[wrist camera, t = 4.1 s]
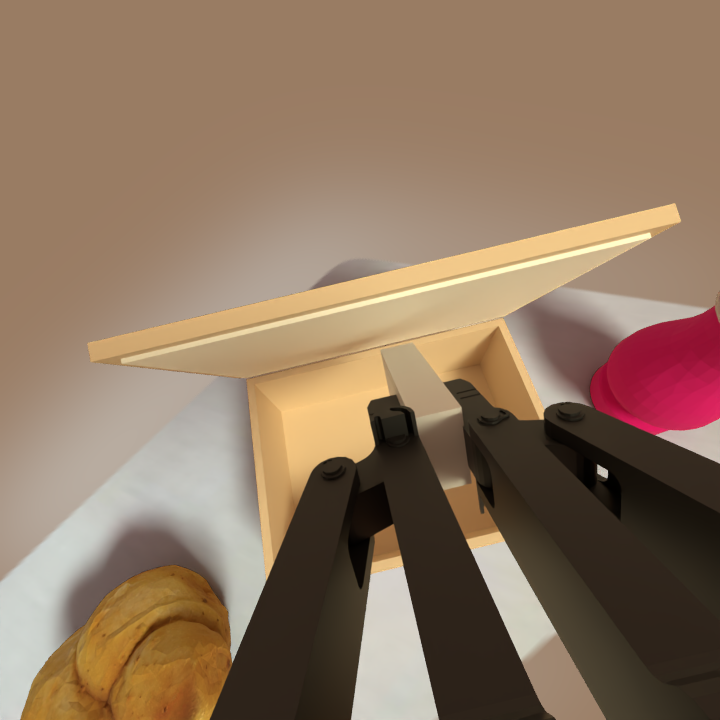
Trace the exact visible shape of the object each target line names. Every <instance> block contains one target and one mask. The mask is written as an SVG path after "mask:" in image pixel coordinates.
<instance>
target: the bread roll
mask: <svg viewBox="0 0 720 720" xmlns="http://www.w3.org/2000/svg"><path fill="white" fill-rule="evenodd" d="M230 646H231V636H230V626H229V622H228V611H227V610H226V608H225V607H224V606H223V605H222V604H221V602H220V600H219V599H218V598H217V596H216V595H215V594H214V593H213V591H212V589H211V587H210V586H209V584H208V582H207V580H206V579H204V578H203V577H202V576H200V575H199V574H197V573H196V572H193V571H191V570H189V569H187V568H183V567H180V566H177V565H169V566H163V567H158V568H155V569H152V570H147V571H145V572H142V573H140V574H138V575H136V576H133V577H132V578H130V579H128V580H127V581H125V582H123V583H122V584H121V585H119V586H118V587H116V588H115V589H114V590H112V591H111V592H110V593H109V594H107V595H106V596H105V597H104V599H103V600H102V601H101V602H100V604H99V605H98V606H97V608H96V609H95V611H94V612H93V614H92V615H91V617H90V618H89V620H88V621H87V623H86V625H84V626H83V627H81V628H80V629H78V630H77V631H76V632H75V633H74V634H73V635H72V636H70V637H69V638H68V639H67V640H66V641H65V642H64V643H63V644H62V645H61V646H60V647H59V648H58V649H57V650H56V651H55V652H54V653H53V654H52V655H51V656H50V657H49V659H48V661H46V662H45V665H44V666H43V667H42V668H41V670H40V671H39V673H38V674H37V676H36V677H35V679H34V680H33V683H32V686H31V689H30V691H29V695H28V698H27V701H26V704H25V707H24V709H23V712H22V715H21V719H20V720H210V717H211V715H212V712H213V710H214V707H215V705H216V703H217V700H218V698H219V695H220V693H221V690H222V688H223V686H224V683H225V681H226V678H227V676H228V673H229V671H230V668H231V666H232V659H231V653H230Z"/></svg>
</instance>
